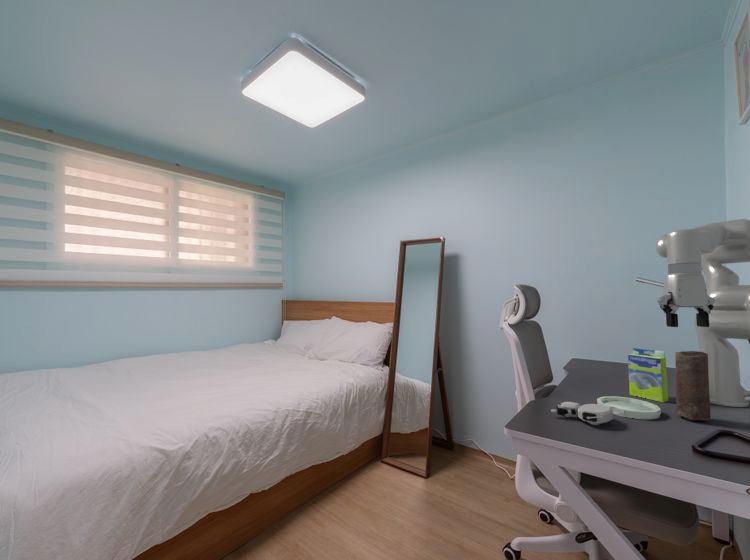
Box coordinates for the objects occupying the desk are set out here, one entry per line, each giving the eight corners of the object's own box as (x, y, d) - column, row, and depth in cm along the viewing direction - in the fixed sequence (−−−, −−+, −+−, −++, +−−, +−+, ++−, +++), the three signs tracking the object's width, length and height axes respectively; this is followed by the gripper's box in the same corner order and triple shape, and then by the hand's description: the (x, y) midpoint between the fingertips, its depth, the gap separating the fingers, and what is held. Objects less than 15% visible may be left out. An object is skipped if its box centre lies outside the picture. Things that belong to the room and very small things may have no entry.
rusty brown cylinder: (719, 424, 95) (714, 353, 96) (693, 424, 95) (689, 354, 96) (694, 415, 103) (690, 349, 104) (670, 415, 103) (666, 349, 104)
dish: (631, 402, 116) (630, 395, 116) (674, 418, 100) (674, 411, 100) (586, 403, 115) (586, 396, 115) (623, 420, 99) (623, 412, 99)
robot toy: (549, 420, 102) (606, 431, 90) (547, 405, 102) (604, 414, 91) (565, 411, 110) (619, 420, 98) (563, 397, 110) (617, 404, 99)
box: (629, 395, 124) (626, 348, 125) (634, 393, 126) (632, 347, 127) (663, 403, 114) (660, 352, 115) (669, 401, 116) (666, 351, 117)
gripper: (698, 271, 105) (702, 325, 104) (646, 271, 105) (649, 326, 104) (724, 269, 98) (728, 327, 97) (668, 269, 97) (672, 327, 96)
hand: (687, 326), depth 100 cm, fingers open, 9 cm apart
